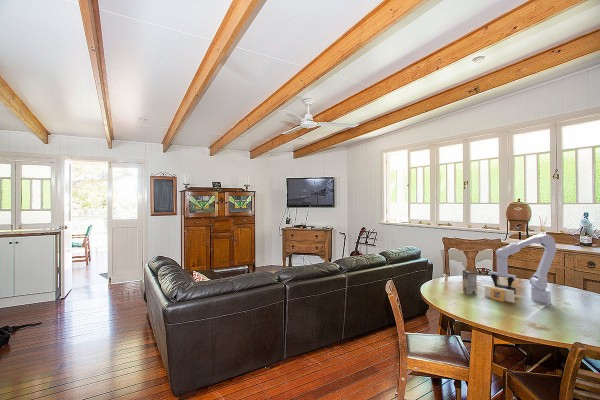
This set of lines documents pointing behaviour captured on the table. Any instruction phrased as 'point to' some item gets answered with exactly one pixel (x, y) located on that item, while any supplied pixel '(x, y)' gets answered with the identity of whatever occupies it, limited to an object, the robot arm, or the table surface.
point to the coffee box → (469, 282)
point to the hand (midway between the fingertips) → (502, 287)
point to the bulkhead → (507, 294)
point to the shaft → (505, 288)
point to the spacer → (500, 294)
